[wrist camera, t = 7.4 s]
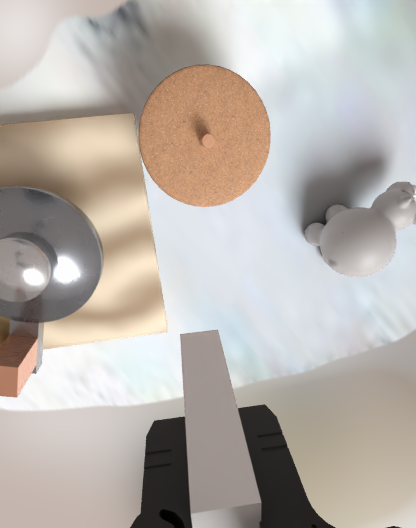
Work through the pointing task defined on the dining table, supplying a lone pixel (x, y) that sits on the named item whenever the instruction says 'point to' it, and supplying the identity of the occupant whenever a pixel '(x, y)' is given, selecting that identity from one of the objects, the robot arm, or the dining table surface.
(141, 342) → the dining table surface
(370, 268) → the round bodied animal figurine
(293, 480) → the robot arm
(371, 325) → the dining table surface
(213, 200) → the lidded jar
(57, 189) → the flange base
